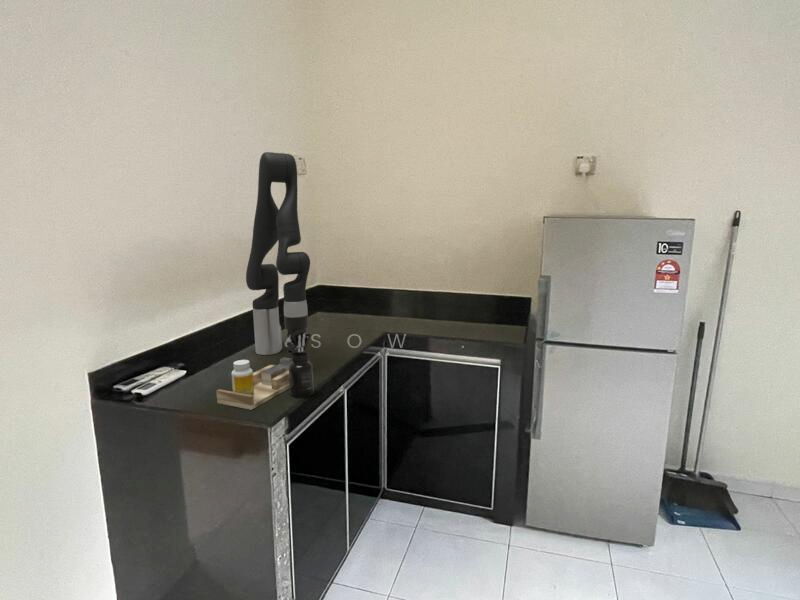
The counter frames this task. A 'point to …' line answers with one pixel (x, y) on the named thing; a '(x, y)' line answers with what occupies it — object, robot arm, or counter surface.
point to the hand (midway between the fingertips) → (298, 364)
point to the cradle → (255, 391)
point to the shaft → (276, 371)
